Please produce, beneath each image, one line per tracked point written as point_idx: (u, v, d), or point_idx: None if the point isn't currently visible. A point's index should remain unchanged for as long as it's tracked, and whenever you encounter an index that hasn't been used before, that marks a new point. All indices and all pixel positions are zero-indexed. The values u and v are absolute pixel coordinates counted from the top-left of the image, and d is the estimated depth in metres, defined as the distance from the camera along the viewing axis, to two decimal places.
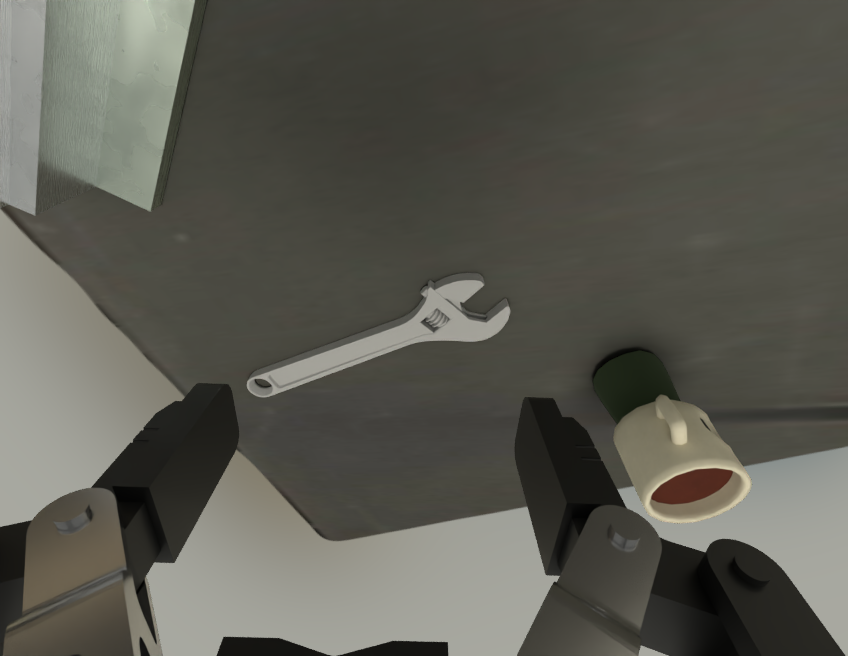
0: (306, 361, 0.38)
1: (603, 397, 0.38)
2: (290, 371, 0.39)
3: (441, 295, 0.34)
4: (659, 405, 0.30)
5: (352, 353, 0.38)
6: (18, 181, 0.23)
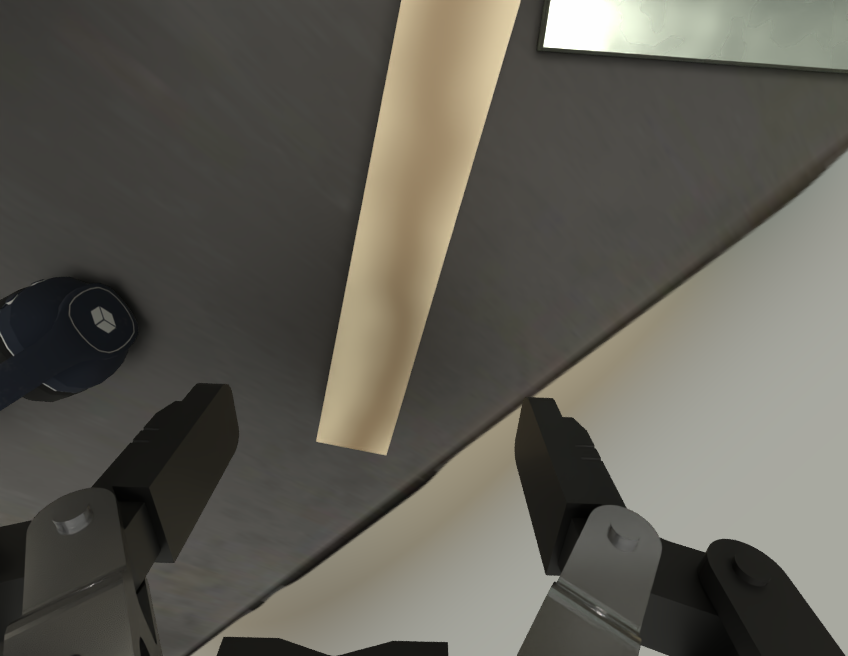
0: None
1: None
2: None
3: None
4: None
5: None
6: None
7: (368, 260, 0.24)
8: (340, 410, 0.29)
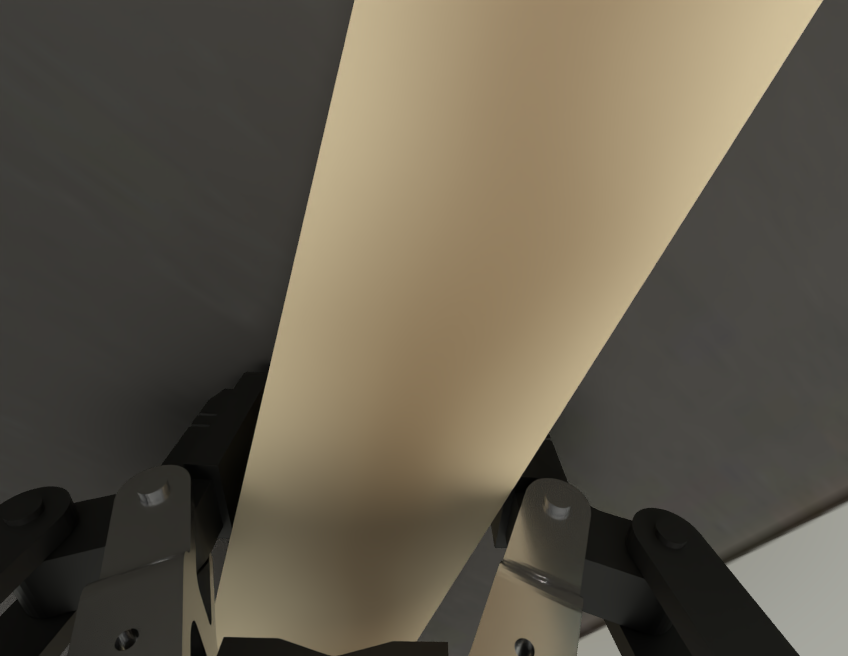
0: None
1: None
2: None
3: None
4: None
5: None
6: None
7: (287, 508, 0.09)
8: None
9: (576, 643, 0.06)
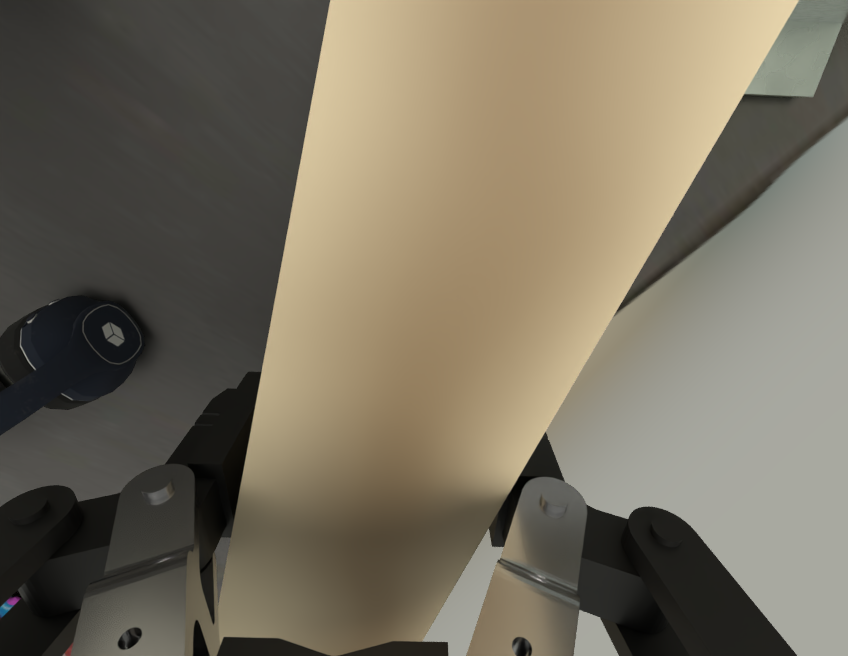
0: None
1: None
2: None
3: None
4: None
5: None
6: None
7: (286, 506, 0.08)
8: None
9: (573, 641, 0.06)
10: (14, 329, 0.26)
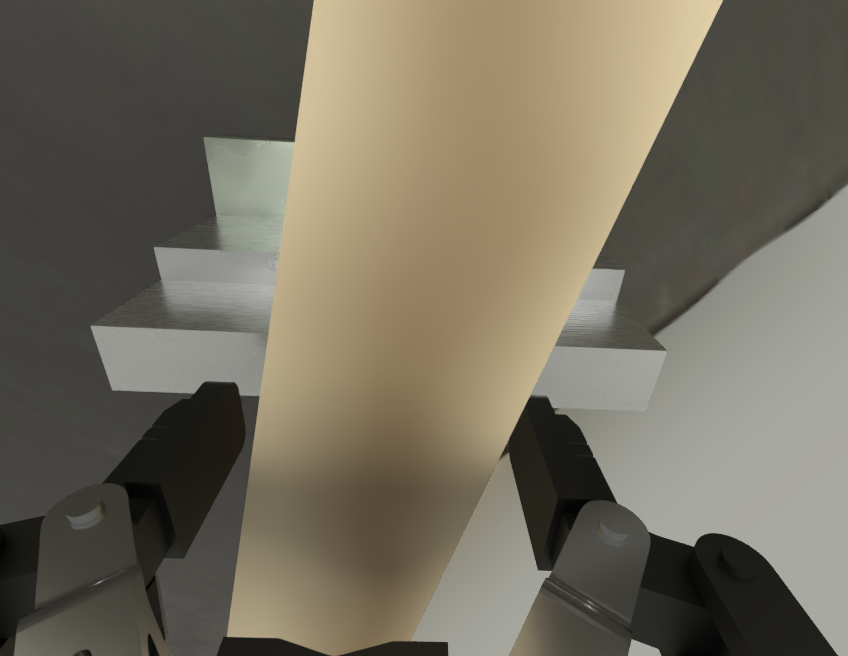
0: None
1: None
2: None
3: None
4: None
5: None
6: None
7: (294, 476, 0.09)
8: None
9: None
10: None
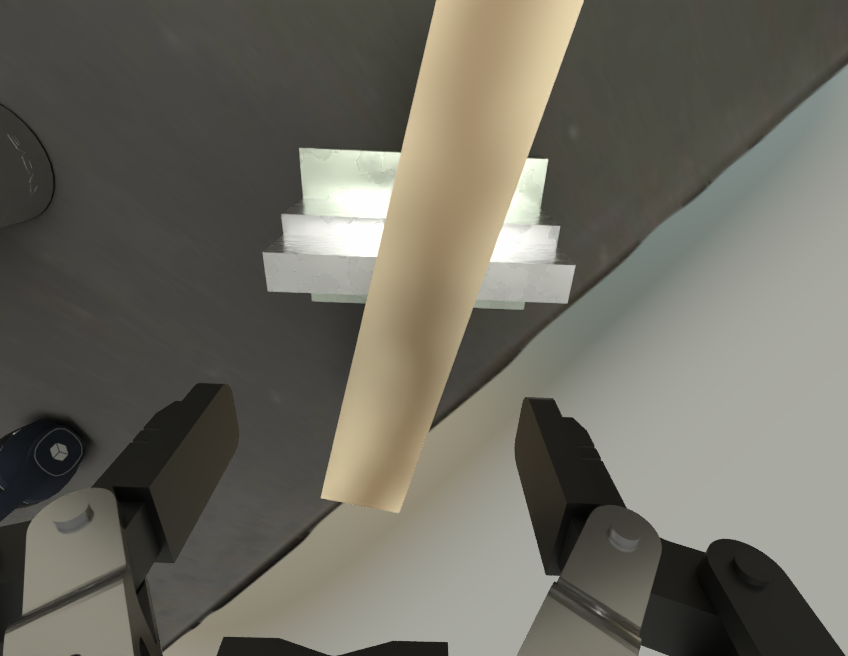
0: None
1: None
2: None
3: None
4: None
5: None
6: (532, 238, 0.28)
7: (386, 305, 0.20)
8: (349, 466, 0.25)
9: None
10: None
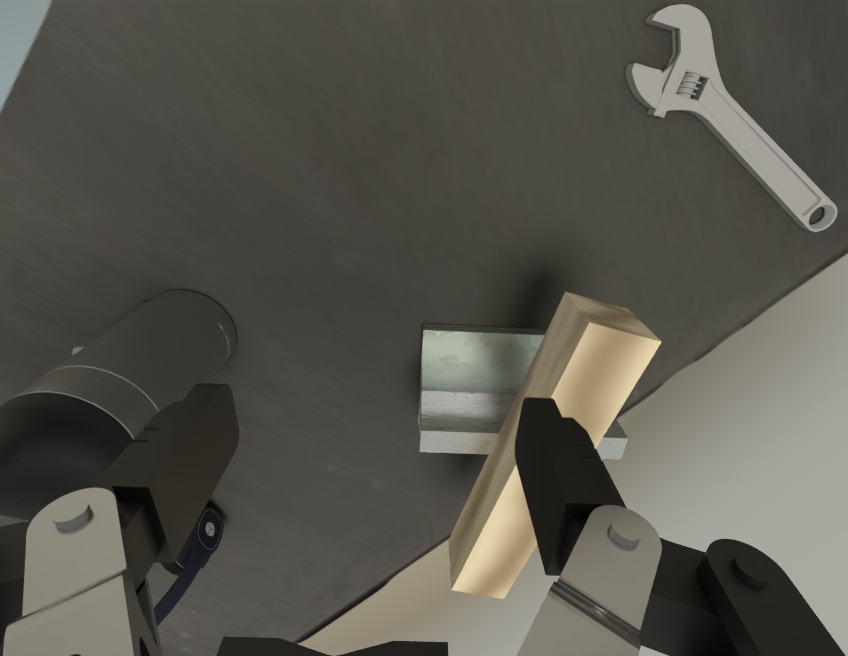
0: (776, 187, 0.37)
1: None
2: (793, 197, 0.38)
3: (659, 98, 0.34)
4: None
5: (756, 147, 0.36)
6: None
7: (518, 485, 0.33)
8: (475, 571, 0.37)
9: None
10: None
